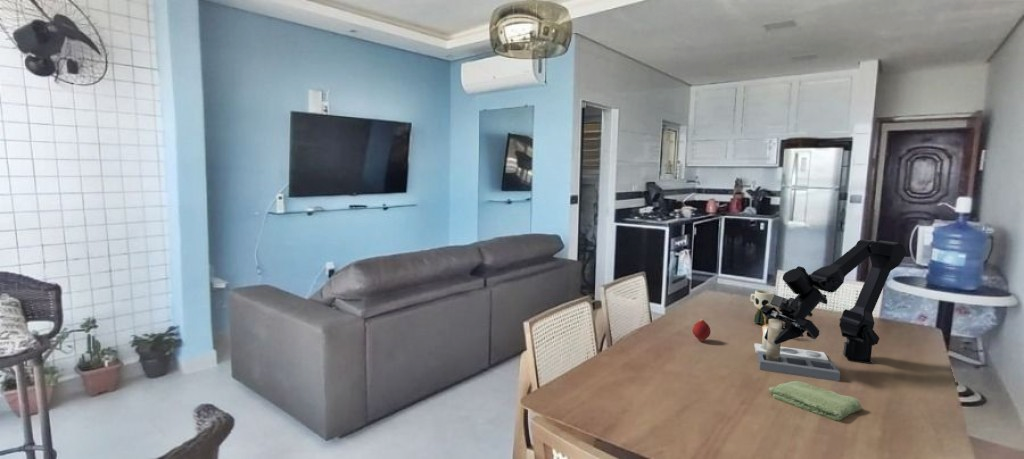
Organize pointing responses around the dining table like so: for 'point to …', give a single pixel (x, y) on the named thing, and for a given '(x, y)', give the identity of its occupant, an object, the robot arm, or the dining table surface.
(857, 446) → the dining table surface
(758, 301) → the character mug
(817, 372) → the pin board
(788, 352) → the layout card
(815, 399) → the washcloth
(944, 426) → the dining table surface
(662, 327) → the dining table surface
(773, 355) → the birch peg
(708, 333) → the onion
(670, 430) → the dining table surface
